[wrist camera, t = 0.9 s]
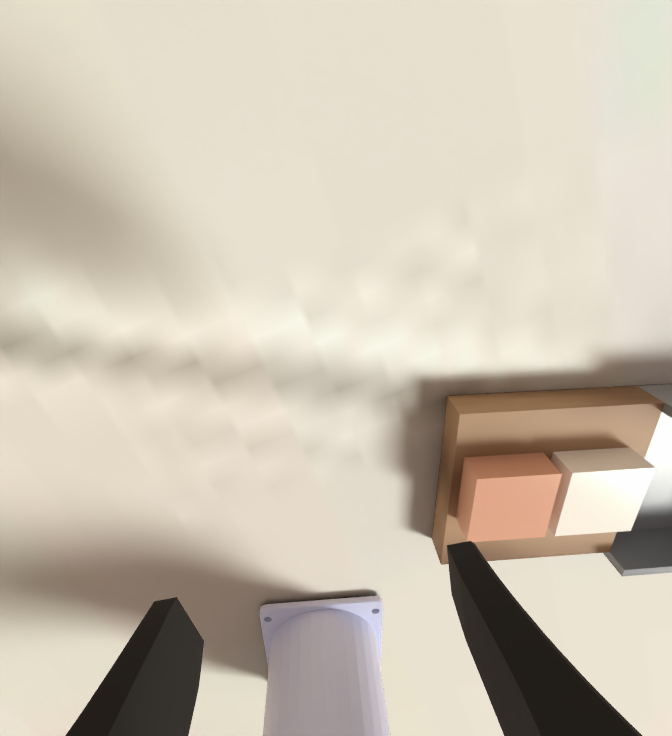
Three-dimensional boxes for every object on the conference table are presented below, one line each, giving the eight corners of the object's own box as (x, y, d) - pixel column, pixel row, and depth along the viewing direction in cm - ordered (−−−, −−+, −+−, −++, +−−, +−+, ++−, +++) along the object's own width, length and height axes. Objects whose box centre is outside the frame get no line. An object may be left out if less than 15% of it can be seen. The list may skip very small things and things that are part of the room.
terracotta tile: (528, 512, 21) (544, 537, 20) (456, 518, 21) (467, 542, 19) (543, 452, 19) (562, 473, 18) (464, 457, 19) (477, 479, 18)
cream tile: (608, 507, 21) (630, 530, 20) (537, 512, 21) (554, 536, 20) (630, 447, 20) (655, 467, 18) (552, 451, 19) (572, 473, 18)
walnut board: (589, 527, 24) (609, 552, 23) (432, 539, 24) (441, 564, 22) (636, 385, 20) (665, 402, 19) (447, 395, 20) (459, 414, 18)
